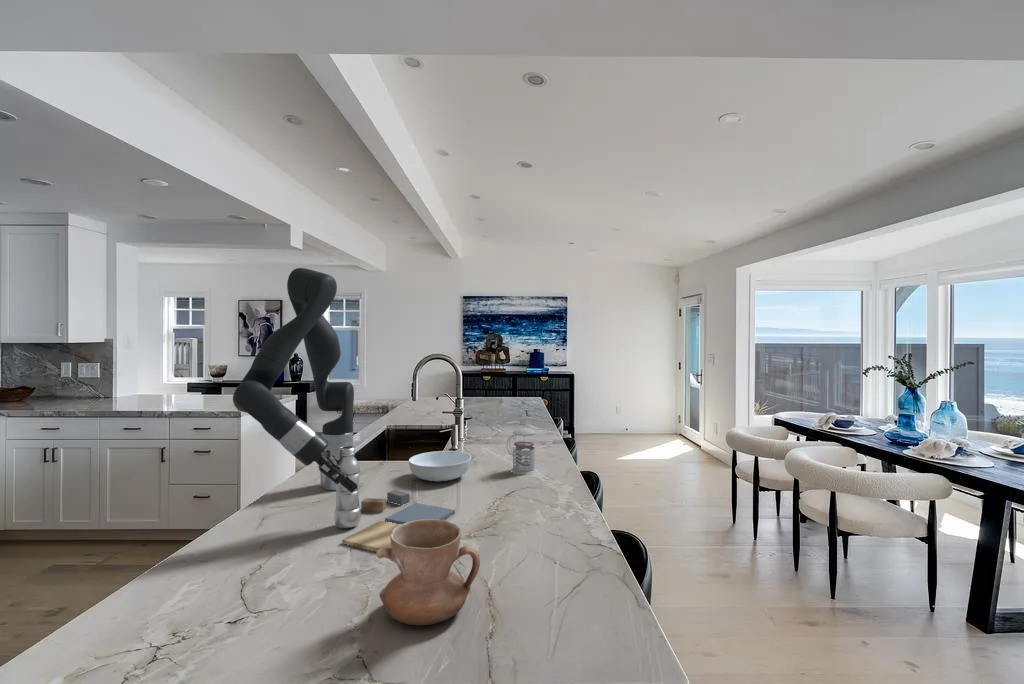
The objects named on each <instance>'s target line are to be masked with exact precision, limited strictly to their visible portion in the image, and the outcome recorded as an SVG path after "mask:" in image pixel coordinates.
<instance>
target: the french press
mask: <svg viewBox="0 0 1024 684" xmlns="http://www.w3.org/2000/svg"><path fill="white" fill-rule="evenodd" d="M520 404H522V405H527V401H526V400H522V401H521V403H520ZM512 434H513V435H511V436H509V437H508V439H507V441H506V449H507V451H508V453H509V454H510V456H512V468H511V469H510V470H511V471H512V472H513V473H512V474H514V473H517V474H516V475H518V474H530V475H534V474H533V473H535V474H537V473H538V472H537V471H538V469H537V468H536V461H535V460H536V457H535V455H536V452H535V451H536V449H535V448H536V447H534V446H535V443H534V442H531V441H525V440H522V441H515V442H514V443H513V445H514V447H512V449H511V440H512V439H513V440H516V439H517V437H515V436H521V437H522V436H523V437H529V436H534V435H536V432H535V430H533V429H531V428H528V427H525V426H523V427H520V428H517V429H514V430H513V431H512ZM508 442H509V443H508ZM508 444H509V445H508ZM508 446H509V448H508ZM509 449H510V451H509ZM536 472H537V473H536Z"/></svg>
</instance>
